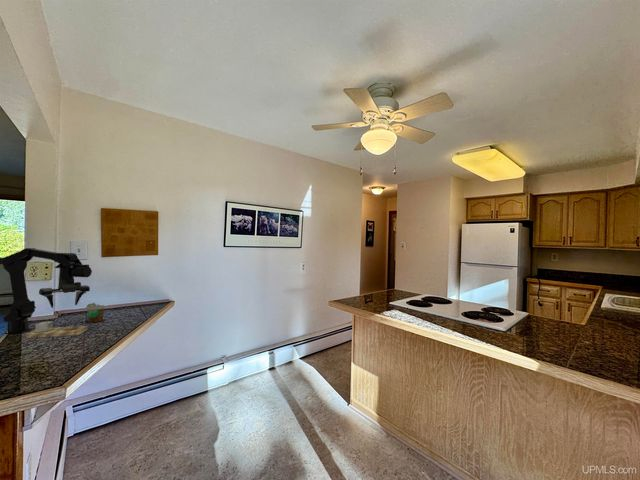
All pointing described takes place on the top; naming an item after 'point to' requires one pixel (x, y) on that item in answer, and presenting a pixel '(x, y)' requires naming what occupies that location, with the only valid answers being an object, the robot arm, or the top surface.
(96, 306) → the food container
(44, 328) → the nut block
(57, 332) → the rail
